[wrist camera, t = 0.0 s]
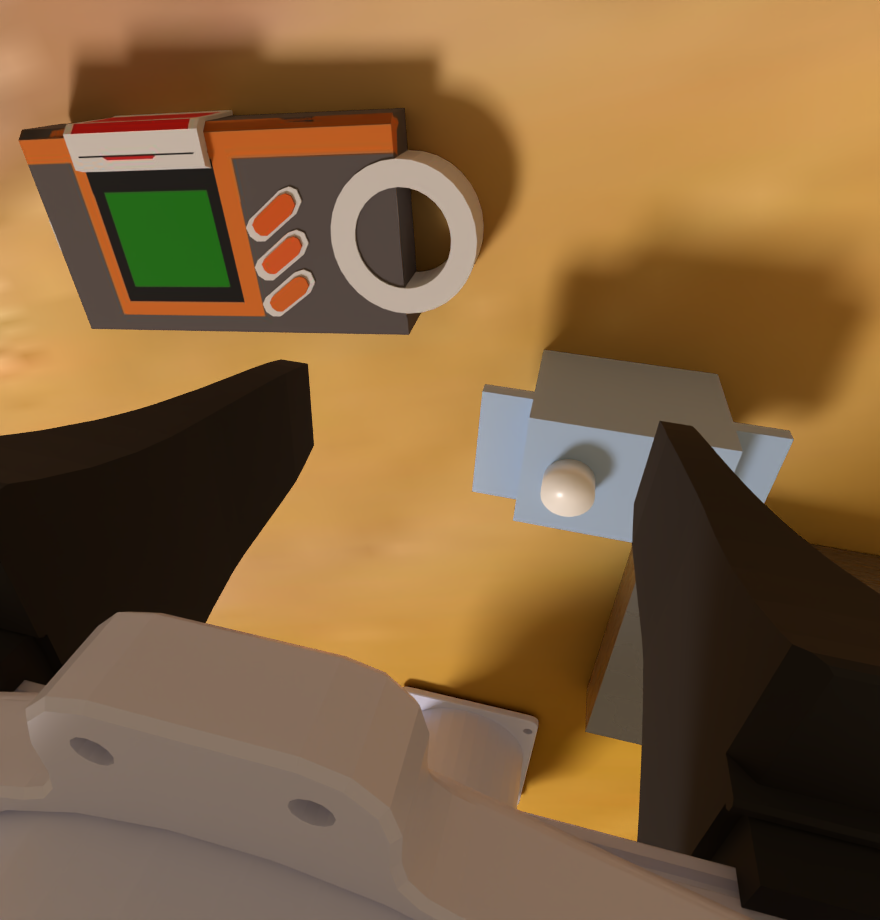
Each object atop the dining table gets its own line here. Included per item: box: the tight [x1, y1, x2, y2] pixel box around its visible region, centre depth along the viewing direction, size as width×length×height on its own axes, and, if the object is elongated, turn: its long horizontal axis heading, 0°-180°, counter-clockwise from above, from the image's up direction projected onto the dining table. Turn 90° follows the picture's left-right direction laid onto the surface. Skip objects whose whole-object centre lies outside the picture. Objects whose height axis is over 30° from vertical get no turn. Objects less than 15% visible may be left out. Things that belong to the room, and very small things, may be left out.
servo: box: [472, 350, 794, 542], centre depth 20 cm, size 4×9×6 cm, turn 87°
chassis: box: [585, 544, 880, 745], centre depth 26 cm, size 12×14×3 cm
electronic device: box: [19, 108, 484, 335], centre depth 21 cm, size 7×3×15 cm
